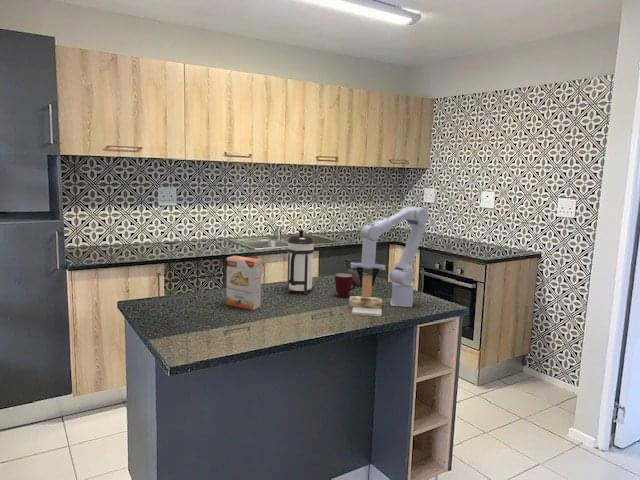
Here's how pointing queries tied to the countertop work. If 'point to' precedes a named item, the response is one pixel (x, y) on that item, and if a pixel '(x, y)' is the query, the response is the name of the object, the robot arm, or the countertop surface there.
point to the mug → (344, 284)
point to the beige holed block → (365, 302)
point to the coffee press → (300, 263)
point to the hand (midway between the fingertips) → (367, 285)
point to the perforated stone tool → (354, 276)
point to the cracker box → (244, 282)
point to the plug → (367, 286)
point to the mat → (367, 311)
